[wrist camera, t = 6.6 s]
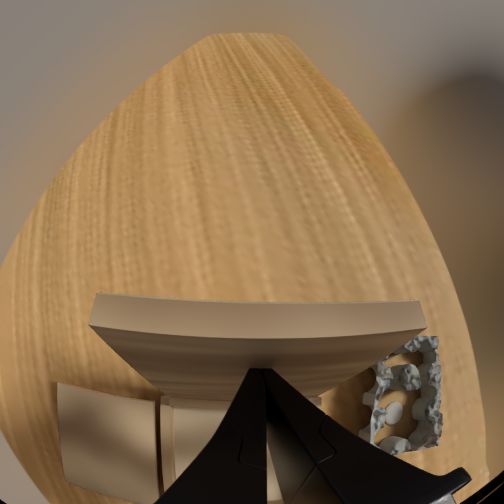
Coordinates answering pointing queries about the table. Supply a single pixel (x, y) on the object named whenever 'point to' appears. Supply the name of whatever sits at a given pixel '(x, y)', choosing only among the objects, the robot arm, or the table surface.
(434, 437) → the egg carton
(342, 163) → the table surface
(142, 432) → the carton
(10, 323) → the table surface
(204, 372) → the flap
